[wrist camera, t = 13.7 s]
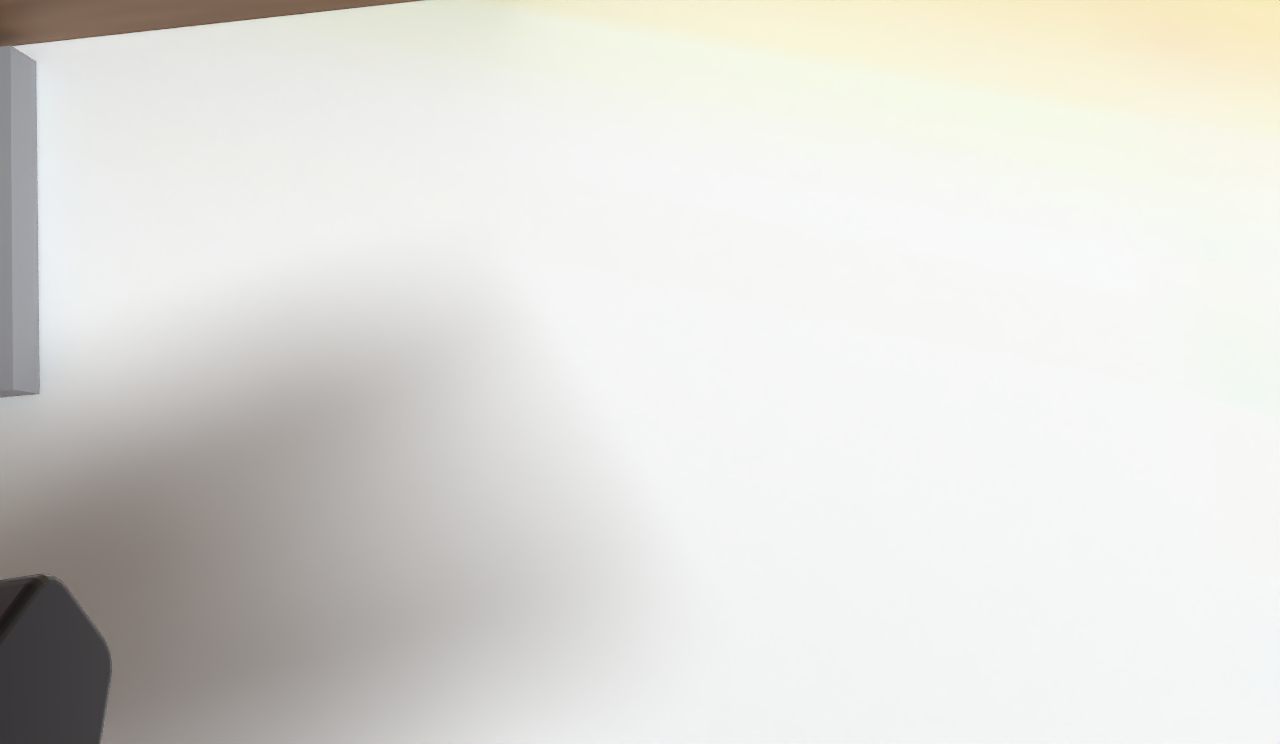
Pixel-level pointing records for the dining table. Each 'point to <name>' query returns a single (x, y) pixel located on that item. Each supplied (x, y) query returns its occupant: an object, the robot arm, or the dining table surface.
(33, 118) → the end pad
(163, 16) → the walnut fence
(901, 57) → the dining table surface
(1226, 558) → the dining table surface
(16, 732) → the robot arm
